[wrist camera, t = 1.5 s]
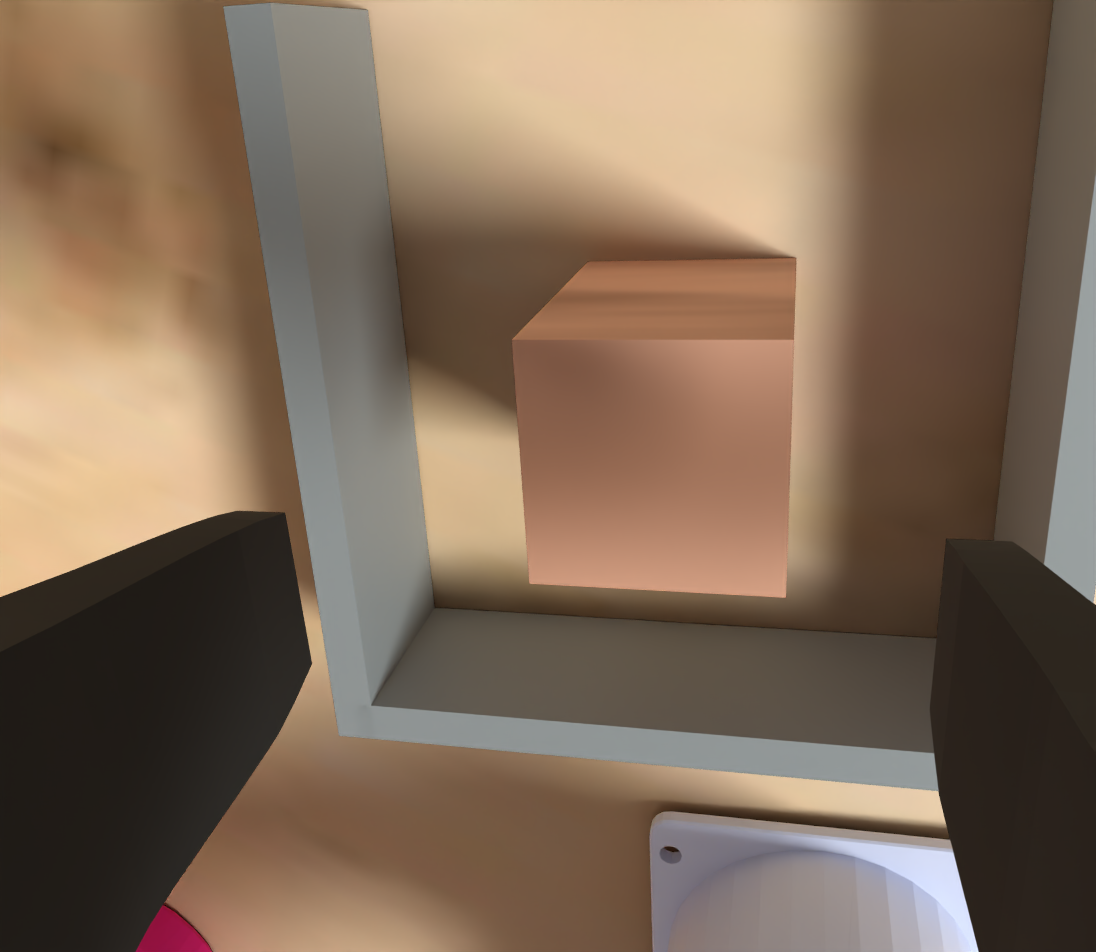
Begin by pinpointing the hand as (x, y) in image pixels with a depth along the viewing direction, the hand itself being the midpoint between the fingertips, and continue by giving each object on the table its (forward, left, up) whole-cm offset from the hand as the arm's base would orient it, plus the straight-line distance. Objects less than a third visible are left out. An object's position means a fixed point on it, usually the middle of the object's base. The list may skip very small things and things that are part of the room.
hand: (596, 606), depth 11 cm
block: (0, 0, -11) cm, 11 cm away
